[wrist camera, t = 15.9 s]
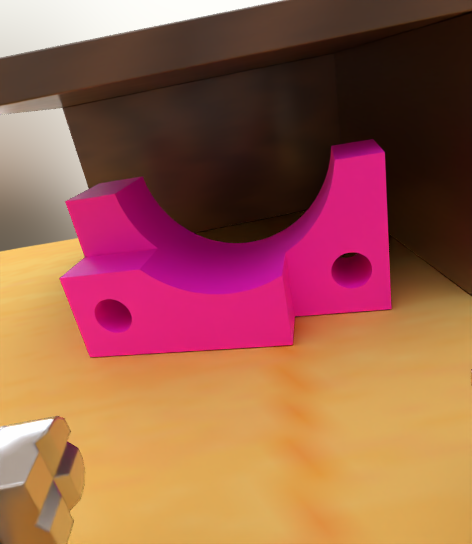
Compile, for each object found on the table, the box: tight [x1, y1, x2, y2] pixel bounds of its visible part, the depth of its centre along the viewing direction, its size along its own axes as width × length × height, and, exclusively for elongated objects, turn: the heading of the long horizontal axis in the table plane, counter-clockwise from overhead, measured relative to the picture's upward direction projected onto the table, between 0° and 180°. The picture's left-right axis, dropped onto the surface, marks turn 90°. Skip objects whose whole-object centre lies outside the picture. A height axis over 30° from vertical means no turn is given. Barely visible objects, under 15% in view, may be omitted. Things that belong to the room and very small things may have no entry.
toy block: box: [59, 139, 391, 357], centre depth 21 cm, size 15×6×8 cm, turn 81°
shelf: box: [0, 0, 472, 295], centre depth 27 cm, size 23×20×14 cm
